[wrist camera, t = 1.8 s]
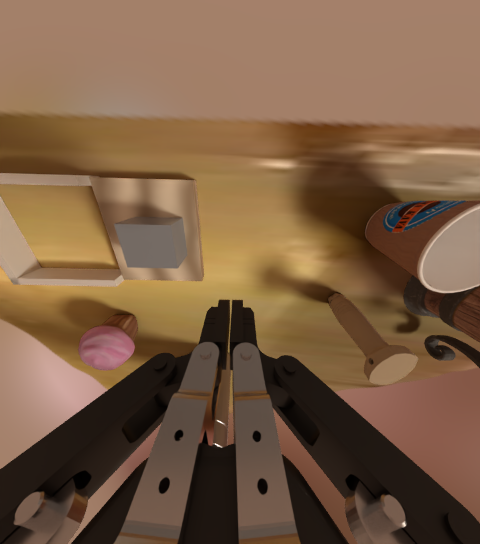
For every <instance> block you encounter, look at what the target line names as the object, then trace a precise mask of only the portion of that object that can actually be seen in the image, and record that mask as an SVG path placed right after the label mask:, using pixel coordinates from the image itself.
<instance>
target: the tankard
mask: <svg viewBox="0 0 480 544" xmlns="http://www.w3.org/2000/svg"><path fill="white" fill-rule="evenodd" d="M430 286H431V285H430ZM404 303H405V305H406V307H407V308H408V309H409V310H410V311H411V312H413V313H415V314H418V315H422V316H431V317H438V318H441V320H442V321H443V322H445V323H446V324H448V325H449V326H451V327H453V328H454V329H456V330H458V331H462V332H464V333H465V334H467V335H469V336H470V337H472V338H473V339H475V340H477V341H478V342H480V285H479V286H476V287H474V288H471V289H468V290H464V291H460V292H454V293H440V292H435V291H432V290H429V289H427V288H426V287H425V286H424V285H423V284H422V283H421V282H420V280H419V279H417V278H416V277H415V276H414V275H413V276H412V277H411V279H410V280H409V282H408V283H407V286H406V288H405V291H404ZM439 341H443V342H445V343H447V344H449V345H451V346H453V347H455V348H456V349H458V350H459V351H461V352H462V353H463V354H465V355H466V356H467V357H468V358H470V359H471V360H472V361H473V362H474V363H475V364H476V365H477V366H478V367H479V368H480V352H479V351H477V350H476V349H474V348H472V347H471V346H469V345H468V344H466V343H464V342H462V341H460V340H458V339H456V338H453V337H450V336H444V335H431V336H429V337H427V338H426V339H425V342H424V344H425V348H426V350H427V352H428V353H429V354H430V355H431V356H432V357H433V358H435V359H437V360H453V359H454V358H455V353H454V351H453V350H452V349H450V348H449V347H447V346H443V345H438V342H439ZM440 350H441V351H442V352H441V351H440Z"/></svg>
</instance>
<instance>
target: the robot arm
mask: <svg viewBox="0 0 480 544" xmlns="http://www.w3.org/2000/svg"><path fill="white" fill-rule="evenodd" d="M229 325H230V300H219V303H218V307H211V308H210V309H209V310H208V311H207V314H206V318H205V321H204V325H203V329H202V333H201V337H200V341H199V344H198V345H197V346H196V347H195V348H194V350H193V352H191V353H189V354H187V355H184V356H181V357H177V358H175V357H174V356H173V355H172V354H170V353H161V354H158V355H156V356H154V357H153V358H151V359H150V360H149V361H147V362H146V363H144V364H143V365H142V366H140V367H139V368H138V369H136V370H135V371H134V372H132V373H131V374H129V375H128V376H127V377H125V378H124V379H123V380H121V381H120V382H119V383H117V384H116V385H114V386H113V387H112V388H110V389H109V390H108V391H106V392H105V393H104V394H102V395H101V396H100V397H98V398H97V399H95V400H94V401H93V402H91V403H90V404H89V405H87V406H86V407H85V408H83V409H82V410H81V411H79V412H78V413H76V414H75V415H74V416H72V417H71V418H70V419H68V420H67V421H65V422H64V423H63V424H61V425H60V426H59V427H57V428H56V429H55V430H53V431H52V432H51V433H49V434H48V435H47V436H45V437H44V438H42V439H41V440H40V441H38V442H37V443H36V444H34V445H33V446H32V447H30V448H29V449H27V450H26V451H25V452H24V453H22V454H21V455H19V456H18V457H17V458H15V459H14V460H12V461H11V462H10V463H8V464H7V465H6V466H4V467H3V468H1V469H0V544H67V543H68V542H69V541H70V539H71V538H72V537H73V535H74V534H75V532H76V531H77V530H78V528H79V526H80V524H81V522H82V520H83V518H84V515H85V512H86V509H87V503H88V499H89V498H90V497H91V496H92V495H93V494H94V493H95V492H96V491H97V490H98V489H99V488H100V487H101V486H102V485H103V484H104V483H105V482H106V480H107V479H108V478H109V477H110V476H111V475H112V474H113V473H114V472H115V471H116V470H117V469H118V468H119V467H120V466H121V465H122V464H123V463H124V461H125V460H126V459H127V458H128V457H129V456H130V455H131V454H132V453H133V452H134V451H135V450H136V449H137V448H138V447H139V446H140V445H141V443H143V441H144V440H145V439H146V438H147V437H148V436H149V435H150V434H151V433H152V432H153V431H154V430H155V429H156V428H157V427H158V426H159V425H160V424H161V423H162V424H161V426H160V429H159V432H158V435H157V437H156V440H155V442H154V445H153V448H152V450H151V453H150V456H149V457H148V458H147V459H146V460H144V461H143V462H142V463H141V464H140V465H139V466H138V467H137V468H136V469H135V470H134V471H133V472H132V474H131V475H130V476H129V477H128V478H127V479H126V480H125V481H124V483H123V484H122V485H121V486H120V488H119V489H118V490H117V491H116V492H115V493H114V494H113V495H112V497H111V498H110V499H109V500H108V501H107V502H106V504H105V505H104V506H103V507H102V508H101V509H100V511H99V512H98V513H97V514H96V515H95V516H94V518H93V519H92V520H91V521H90V522H89V523H88V525H87V526H86V527H85V528H84V529H83V530H82V532H81V533H80V534H79V535H78V536H77V537H76V538H75V540H74V541H73V542H72V543H71V544H349V543H348V542H347V540H346V539H345V537H344V536H343V534H342V533H341V531H340V530H339V528H338V527H337V525H336V524H335V523H334V521H333V520H332V518H331V517H330V515H329V514H328V512H327V511H326V509H325V508H324V506H323V505H322V504H321V502H320V501H319V499H318V498H317V496H316V495H315V493H314V492H313V490H312V489H311V487H310V486H309V485H308V483H307V482H306V480H305V479H304V477H303V476H302V474H301V473H300V472H299V470H298V469H297V468H296V467H295V466H294V464H293V463H292V462H291V461H290V460H288V459H287V458H286V457H285V456H284V455H282V454H281V448H280V443H279V439H278V433H277V428H276V423H275V418H274V413H273V408H274V409H275V411H276V412H277V413H278V414H279V416H280V417H281V418H282V420H283V421H284V422H285V424H286V425H287V426H288V427H289V429H290V430H291V431H292V432H293V434H294V435H295V436H296V437H297V439H298V440H299V441H300V442H301V444H302V445H303V446H304V447H305V449H306V450H307V451H308V453H309V454H310V455H311V456H312V458H313V459H314V460H315V461H316V463H317V464H318V465H319V467H320V468H321V469H322V470H323V472H324V473H325V474H326V475H327V477H328V478H329V479H330V480H331V482H332V483H333V484H334V485H335V487H336V488H337V489H338V491H339V492H340V493H341V494H342V496H343V497H344V498H345V512H346V517H347V521H348V524H349V527H350V529H351V532H352V534H353V536H354V538H355V539H356V541H357V542H358V544H480V523H479V522H478V521H477V520H476V518H475V517H474V516H473V515H472V514H471V513H470V512H469V511H468V510H467V509H466V508H465V507H464V506H463V505H462V504H461V503H459V502H458V501H457V500H456V499H455V498H454V497H453V496H451V495H450V494H449V493H448V492H447V491H446V490H444V488H442V487H441V486H440V485H439V484H438V483H437V482H435V481H434V480H433V479H432V478H431V477H430V476H429V475H428V474H426V473H425V472H424V471H423V470H422V469H421V468H420V467H419V466H417V465H416V464H415V463H414V462H413V461H412V460H411V459H410V458H408V457H407V456H406V455H405V454H404V453H403V452H402V451H400V450H399V449H398V448H397V447H396V446H395V445H394V444H393V443H391V442H390V441H389V440H388V439H387V438H386V437H385V436H383V435H382V434H381V433H380V432H379V431H378V430H377V429H376V428H374V427H373V426H372V425H371V424H370V423H369V422H368V421H366V420H365V419H364V418H363V417H362V416H361V415H360V414H359V413H357V412H356V411H355V410H354V409H353V408H351V406H349V405H348V404H347V403H346V402H345V401H344V400H343V399H341V398H340V397H339V396H338V395H337V394H336V393H335V392H334V391H332V390H331V389H330V388H329V387H328V386H327V385H326V384H325V383H323V382H322V381H321V380H320V379H319V378H318V377H317V376H315V375H314V374H313V373H312V372H311V371H310V370H309V369H308V368H306V367H305V366H304V365H303V364H302V363H301V362H300V361H298V360H297V359H296V358H294V357H292V356H288V355H284V356H281V357H279V358H278V359H275V358H272V357H269V356H266V355H265V354H263V353H262V352H261V351H260V350H259V348H258V346H257V340H256V330H255V320H254V312H253V311H252V310H251V308H245V307H243V300H232V314H231V330H230V354H229V353H228V339H229ZM231 370H233V422H234V444H231V445H228V446H227V438H228V416H229V397H230V377H231ZM272 407H273V408H272Z"/></svg>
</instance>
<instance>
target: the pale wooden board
mask: <svg viewBox="0 0 480 544" xmlns="http://www.w3.org/2000/svg"><path fill="white" fill-rule="evenodd" d="M89 179H90V182H91V185H92V188H93V191H94V194H95V197H96V200H97V203H98V206H99V209H100V212H101V215H102V218H103V220H104V223H105V226H106V229H107V232H108V235H109V238H110V241H111V244H112V247H113V250H114V253H115V256H116V259H117V262H118V265H119V268H120V271H121V274H122V277H123V279H124V280H170V281H202V280H203V277H204V269H203V257H202V245H201V233H200V221H199V209H198V197H197V185H196V180H170V179H134V178H97V177H89ZM133 217H175V218H183V224H184V231H185V239H186V247H187V256H186V258H185V259H184V261H183V262H182V263H181V265H180V266H179V268H178V269H174V268H128V267H127V264H126V261H125V258H124V255H123V251H122V248H121V245H120V242H119V239H118V236H117V232H116V229H115V226H114V224H115V223H118V222H121V221H124V220H127V219H130V218H133Z"/></svg>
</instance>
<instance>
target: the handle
mask: <svg viewBox="0 0 480 544" xmlns="http://www.w3.org/2000/svg"><path fill="white" fill-rule="evenodd" d="M328 301H329V306H330V307H331V309H332V311H333V313H334V315H335V317H336V318H337V320H338V321H339V323H340V324H341V325H342V327H343V328H344V329H345V330H346V332H347V333H348V334H349V335H350V337H351V338H352V339H353V340H354V341H355V343H356V344H357V345H358V347H359V348H360V349H361V350H362V352H363V353H364V355H365V356H366V361H365V365H364V373H365V375H366V376H367V378H368V379H369V381H370V382H372V383H374V384H379V385H386V384H391V383H394V382H396V381H398V380H400V379H402V378H403V377H405V376H406V375H407V374H408V373H409V372H411V371H412V370H413V369H414V367H415V366H416V363H417V361H418V358H417V356H416V355H415V354H413V353H412V352H411V351H410V350H409V349H408V348H406V347H404V346H399V345H388V344H387V343H386V342H385V340H384V339H383V338H382V337H381V336H380V334H379V333H378V332H377V331H376V330H375V328H374V327H373V326H372V325H371V323H370V322H369V321H368V320H367V318H366V317H365V316H364V315H363V313H362V312H361V311H360V310H359V309H358V308H357V307H356V306H355V305H354V304H353V303H352V302H351V301H349V300H348V299H346V297H345V296H344V295H342V294H337V293H334V294H333V295H332V296H330V297H329V298H328Z"/></svg>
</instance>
